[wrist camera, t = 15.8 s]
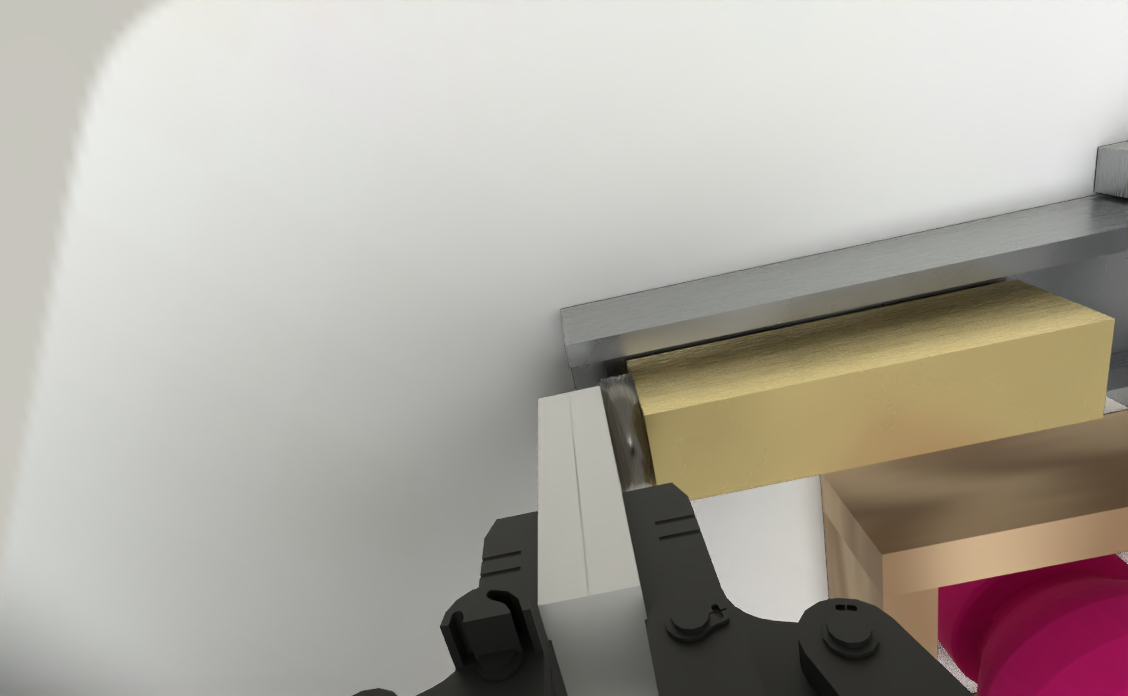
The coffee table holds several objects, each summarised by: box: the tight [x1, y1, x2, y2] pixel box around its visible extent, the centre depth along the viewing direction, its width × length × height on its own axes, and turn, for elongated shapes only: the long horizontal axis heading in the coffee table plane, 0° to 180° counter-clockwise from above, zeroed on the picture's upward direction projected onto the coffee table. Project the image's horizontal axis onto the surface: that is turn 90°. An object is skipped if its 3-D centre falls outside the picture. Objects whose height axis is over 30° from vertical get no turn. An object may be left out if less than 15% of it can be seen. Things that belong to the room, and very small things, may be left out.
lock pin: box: [598, 279, 1115, 501], centre depth 16 cm, size 11×3×3 cm, turn 102°
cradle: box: [820, 410, 1128, 696], centre depth 21 cm, size 13×13×4 cm
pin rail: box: [560, 141, 1128, 407], centre depth 16 cm, size 20×7×7 cm, turn 102°
